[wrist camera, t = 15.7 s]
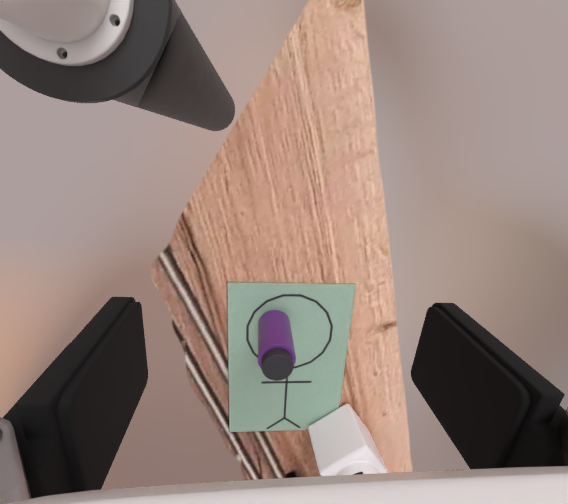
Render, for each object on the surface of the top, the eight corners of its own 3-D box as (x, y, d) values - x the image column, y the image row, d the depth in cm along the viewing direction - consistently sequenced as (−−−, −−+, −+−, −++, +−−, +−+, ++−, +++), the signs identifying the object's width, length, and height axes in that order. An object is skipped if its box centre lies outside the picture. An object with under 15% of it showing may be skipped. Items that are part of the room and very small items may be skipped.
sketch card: (227, 282, 37) (227, 283, 37) (354, 283, 39) (356, 285, 38) (229, 429, 45) (229, 432, 45) (335, 426, 46) (336, 429, 46)
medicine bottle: (329, 452, 48) (358, 546, 36) (306, 426, 45) (330, 519, 34) (368, 428, 47) (409, 517, 36) (347, 401, 45) (385, 487, 33)
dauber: (252, 325, 39) (250, 374, 31) (268, 301, 38) (271, 345, 30) (278, 338, 40) (283, 389, 32) (295, 315, 39) (304, 361, 31)
